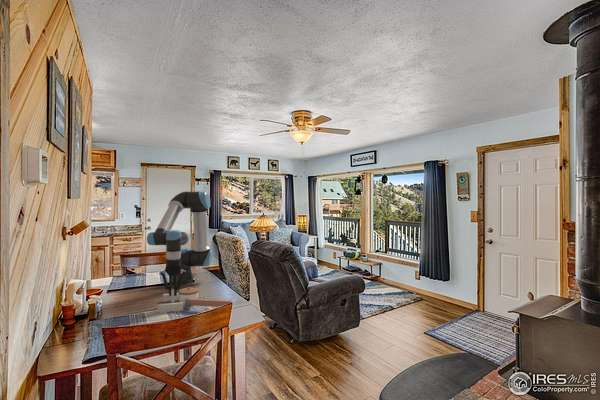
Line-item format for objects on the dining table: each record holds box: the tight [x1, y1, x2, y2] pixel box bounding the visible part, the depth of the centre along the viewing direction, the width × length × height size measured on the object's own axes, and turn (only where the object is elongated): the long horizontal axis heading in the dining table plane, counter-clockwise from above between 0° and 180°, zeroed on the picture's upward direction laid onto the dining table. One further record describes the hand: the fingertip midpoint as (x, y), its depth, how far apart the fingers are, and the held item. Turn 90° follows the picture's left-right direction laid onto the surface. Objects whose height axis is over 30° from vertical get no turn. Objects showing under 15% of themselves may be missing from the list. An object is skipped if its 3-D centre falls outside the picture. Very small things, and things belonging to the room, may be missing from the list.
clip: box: [184, 298, 233, 308], centre depth 158 cm, size 25×3×3 cm, turn 83°
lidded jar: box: [177, 286, 200, 307], centre depth 168 cm, size 11×11×9 cm
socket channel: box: [157, 292, 191, 314], centre depth 166 cm, size 20×16×4 cm
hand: (172, 301), depth 166 cm, fingers closed
